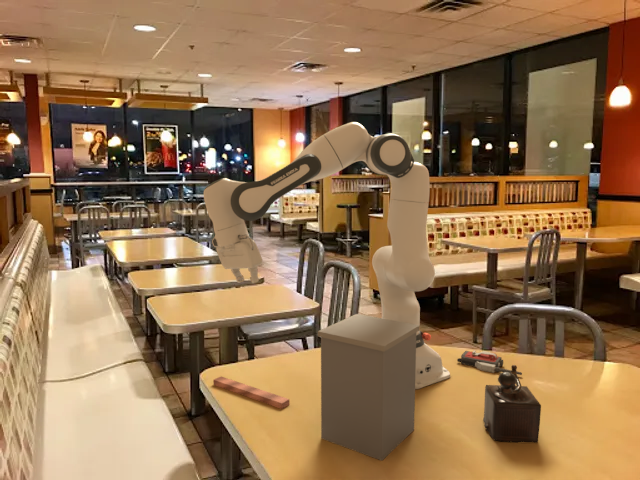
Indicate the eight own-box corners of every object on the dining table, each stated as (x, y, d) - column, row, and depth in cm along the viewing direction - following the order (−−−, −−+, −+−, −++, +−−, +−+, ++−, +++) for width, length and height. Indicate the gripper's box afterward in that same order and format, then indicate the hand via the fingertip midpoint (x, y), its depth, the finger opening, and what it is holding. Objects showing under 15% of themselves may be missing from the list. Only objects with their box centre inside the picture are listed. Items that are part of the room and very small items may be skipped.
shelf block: (318, 438, 122) (317, 331, 118) (356, 410, 135) (357, 313, 132) (382, 462, 112) (384, 346, 108) (416, 429, 126) (419, 325, 122)
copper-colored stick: (213, 386, 152) (213, 379, 152) (221, 382, 154) (221, 376, 154) (282, 410, 137) (282, 403, 136) (289, 406, 139) (289, 399, 139)
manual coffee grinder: (479, 419, 131) (482, 350, 128) (525, 420, 130) (529, 351, 127) (496, 453, 115) (500, 376, 113) (548, 455, 115) (552, 377, 112)
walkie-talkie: (454, 366, 166) (521, 379, 155) (455, 353, 165) (521, 365, 155) (462, 357, 173) (526, 369, 163) (463, 345, 173) (527, 356, 162)
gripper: (258, 230, 141) (274, 278, 142) (228, 235, 158) (242, 278, 160) (238, 237, 137) (254, 286, 139) (209, 241, 154) (224, 285, 156)
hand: (248, 282), depth 149 cm, fingers open, 8 cm apart
